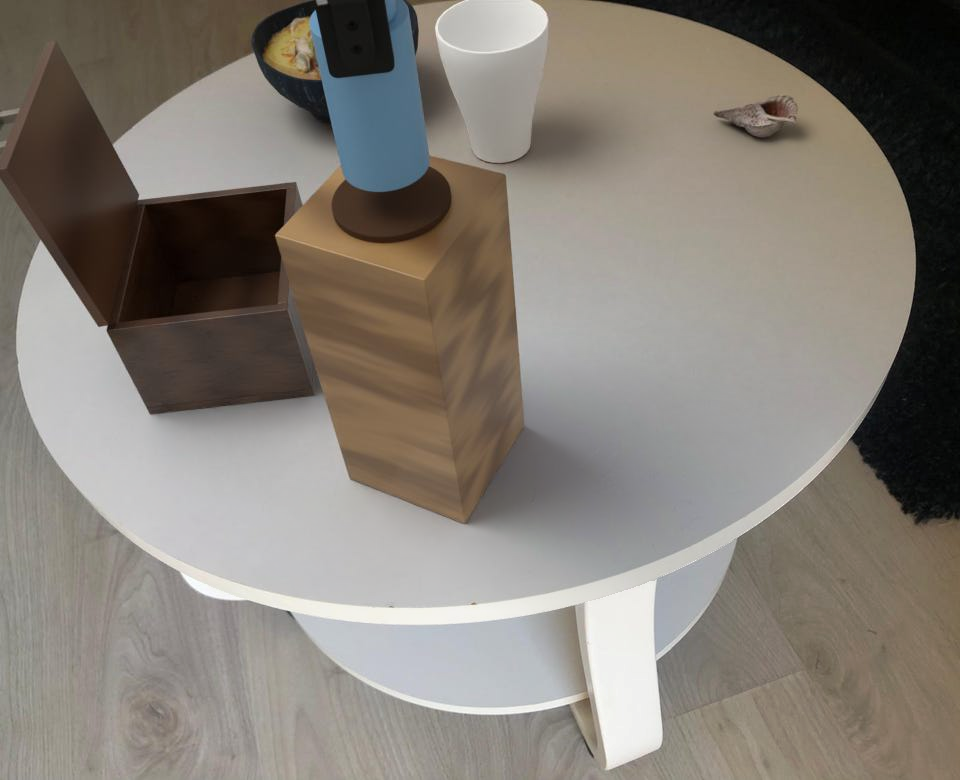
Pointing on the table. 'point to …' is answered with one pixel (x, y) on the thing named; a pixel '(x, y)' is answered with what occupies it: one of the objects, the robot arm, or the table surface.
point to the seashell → (763, 115)
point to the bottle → (378, 113)
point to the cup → (495, 71)
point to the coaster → (392, 209)
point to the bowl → (298, 56)
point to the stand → (415, 341)
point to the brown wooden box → (211, 301)
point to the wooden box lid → (70, 182)
